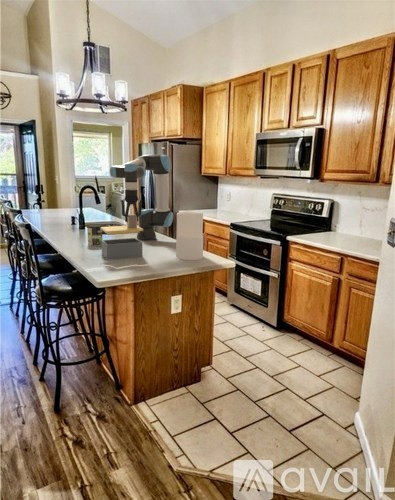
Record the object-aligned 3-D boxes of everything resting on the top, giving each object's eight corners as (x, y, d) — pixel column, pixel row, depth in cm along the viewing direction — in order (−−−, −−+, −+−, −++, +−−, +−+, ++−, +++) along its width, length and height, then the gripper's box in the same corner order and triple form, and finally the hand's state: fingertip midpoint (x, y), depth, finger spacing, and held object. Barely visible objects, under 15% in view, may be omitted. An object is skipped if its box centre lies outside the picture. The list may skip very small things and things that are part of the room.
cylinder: (172, 254, 233) (173, 211, 226) (196, 252, 239) (197, 211, 233) (181, 260, 217) (182, 215, 211) (207, 258, 224) (208, 214, 217)
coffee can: (105, 244, 256) (104, 224, 253) (98, 247, 246) (98, 227, 243) (92, 243, 258) (91, 223, 255) (85, 246, 248) (84, 226, 245)
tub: (135, 252, 234) (135, 237, 231) (142, 257, 222) (142, 242, 219) (101, 255, 223) (101, 240, 221) (107, 261, 211) (106, 244, 209)
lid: (135, 228, 231) (135, 212, 228) (143, 233, 218) (143, 216, 216) (100, 231, 220) (100, 214, 218) (106, 235, 208) (105, 217, 205)
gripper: (142, 188, 223) (143, 225, 229) (115, 188, 215) (116, 226, 221) (146, 189, 217) (147, 227, 222) (118, 189, 209) (119, 228, 214)
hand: (131, 226), depth 222 cm, fingers closed on lid, 4 cm apart
